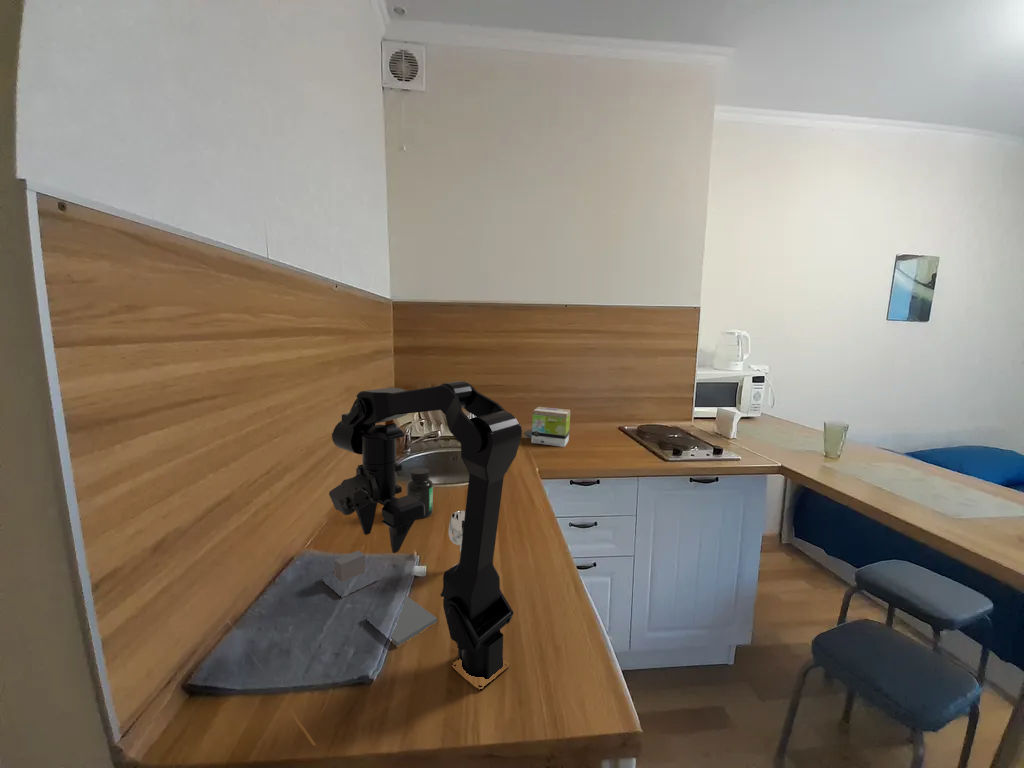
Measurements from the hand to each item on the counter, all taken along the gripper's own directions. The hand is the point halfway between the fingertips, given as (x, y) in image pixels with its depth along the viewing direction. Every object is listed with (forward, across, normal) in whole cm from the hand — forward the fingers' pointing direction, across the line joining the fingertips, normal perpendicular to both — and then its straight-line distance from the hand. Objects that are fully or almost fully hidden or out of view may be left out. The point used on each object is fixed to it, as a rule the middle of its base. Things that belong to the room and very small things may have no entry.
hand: (380, 542), depth 80 cm
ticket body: (+12, +7, 0) cm, 14 cm away
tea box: (+12, -44, +111) cm, 120 cm away
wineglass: (+12, +2, +18) cm, 22 cm away
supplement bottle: (+12, -26, +28) cm, 40 cm away
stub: (+12, -10, 0) cm, 16 cm away
